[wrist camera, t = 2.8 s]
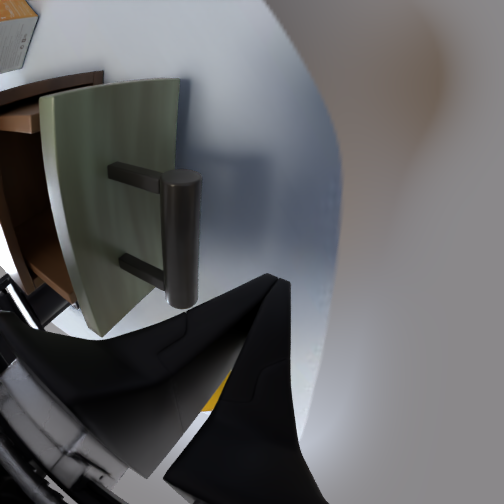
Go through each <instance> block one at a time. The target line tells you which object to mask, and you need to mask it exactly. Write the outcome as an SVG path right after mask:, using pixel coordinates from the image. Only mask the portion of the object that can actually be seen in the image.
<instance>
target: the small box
mask: <svg viewBox="0 0 504 504" xmlns="http://www.w3.org/2000/svg"><path fill="white" fill-rule="evenodd" d="M37 19H38V15H37V14H36V13H35V12H34V11H33V10H32V9H31V7H30V6H29V5H28V4H27V2H26V1H25V0H0V74H1V73H5V72H9V71H13V70H18V69H21V68H22V65H23V61H24V58H25V55H26V51H27V48H28V45H29V42H30V39H31V36H32V33H33V30H34V27H35V25H36V22H37Z"/></svg>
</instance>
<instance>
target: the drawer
mask: <svg viewBox="0 0 504 504" xmlns="http://www.w3.org/2000/svg"><path fill="white" fill-rule="evenodd" d="M179 87H180V79H179V78H152V79H140V80H130V81H121V82H113V83H106V84H100V85H94V86H88V87H82V88H77V89H72V90H67V91H63V92H58V93H54V94H50V95H45V96H41V97H38V98H34V99H31V100H27V101H24V102H20V103H17V104H14V105H11V106H8V107H5V108H2V109H0V172H1V178H2V183H3V187H4V192H5V196H6V201H7V205H8V209H9V213H10V216H11V220H12V223H13V227H14V230H15V234H16V237H17V240H18V243H19V246H20V249H21V252H22V255H23V258H24V261H25V263H26V265H27V266H28V267H29V268H30V269H31V270H32V271H33V272H34V273H35V274H37V275H38V276H39V277H40V278H41V279H42V280H43V281H44V282H46V283H47V284H48V285H49V286H50V287H51V288H52V289H54V290H55V291H56V292H57V293H58V294H60V295H61V296H62V297H63V298H64V299H66V300H67V301H68V302H69V303H71V304H74V303H75V302H76V301H77V300H78V303H79V305H80V308H81V311H82V313H83V316H84V318H85V321H86V323H87V326H88V328H90V329H91V330H92V331H94V332H95V333H96V334H98V335H99V336H100V337H103V336H104V335H105V334H107V333H108V332H109V331H110V330H111V329H112V328H113V327H114V326H115V325H116V324H117V323H118V322H119V321H120V320H121V319H122V318H123V317H124V316H125V315H126V314H127V313H128V312H129V311H131V310H132V309H133V308H134V307H135V306H136V305H137V304H138V303H139V302H140V301H141V300H142V299H143V298H144V297H145V296H147V295H148V294H149V293H150V292H151V291H152V290H153V289H154V288H155V287H157V288H159V289H161V290H163V291H165V295H166V301H167V302H168V304H169V305H170V306H172V307H174V308H177V309H187V308H190V307H192V306H193V305H194V304H195V303H196V302H197V300H198V269H199V236H200V212H201V193H202V176H201V174H200V173H198V172H196V171H193V170H188V169H175V151H176V130H177V113H178V100H179Z"/></svg>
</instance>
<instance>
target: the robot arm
mask: <svg viewBox="0 0 504 504" xmlns="http://www.w3.org/2000/svg"><path fill="white" fill-rule="evenodd" d="M6 287H8V289H9V291H10V292H11V294H12V296H13V297H14V299H15V301H16V302H17V304H18V306H19V307H20V309H21V311H22V312H23V314H24V315H25V317H26V318H27V320H28V321H29V323H30V324H31V326H32V327H30V326H29V324H28V323H27V321H26V320H25V318H24V316H23V315H22V313H21V312H20V310H19V309H18V307H17V305H16V304H15V302H14V300H13V299H12V297H11V295H10V294H9V293H7V291H6V289H5V288H6ZM70 305H71V306H73V307H74V308H75V309H76V310H78V309H79V308H80V307H79V304H78V301H76V302H75V303H74V304H71V303H69V302H68V301H67V300H66V299H64V298H63V297H62V296H61V295H60V294H58V293H57V292H56V291H55V290H54V289H52V288H51V287H50V286H49V285H48V284H47V283H46V282H45V283H43V284H42V285H41V286H40V287H38V288H37V289H36V288H35V291H33V292H32V293H31V294H29V295H27V294H26V293H25V292H24V291H23V290H22V289H21V288H20V287H19V286H18V284H17V283H16V282H15V281H14V280H13V279H12V278H11V277H10V275H9V274H8V273H7V274H6V275H4V276H3V277H2V278H0V504H68V503H66V502H65V501H64V500H63V498H64V497H63V496H62V495H61V494H60V493H58V492H57V491H55V490H53V489H51V488H50V487H49V486H48V485H49V484H50V483H49V482H48V481H47V480H45V479H44V478H45V476H46V475H48V476H49V477H50V478H51V479H52V480H53V481H54V482H55V483H56V484H57V485H58V486H59V487H60V488H61V489H62V490H63V491H64V492H65V493H66V494H68V495H69V496H70V497H71V498H72V499H73V500H74V501H75V502H77V503H78V504H128V503H127V502H125V501H124V500H123V499H121V498H120V497H118V496H117V495H115V494H114V493H113V492H111V490H112V488H113V487H114V486H115V484H116V483H117V482H118V481H119V480H120V478H121V477H122V476H123V474H124V473H125V472H126V470H127V469H128V468H130V469H132V470H134V471H135V472H136V473H138V474H139V475H141V476H143V477H144V478H146V479H147V478H148V477H149V476H150V475H151V474H152V473H153V471H154V470H155V469H156V468H157V466H158V465H159V464H160V463H161V461H162V460H163V459H164V458H165V457H166V455H167V454H168V453H169V452H170V450H171V449H172V448H173V447H174V445H175V444H176V443H177V442H178V440H179V439H180V438H181V437H182V435H183V433H185V431H186V430H187V429H188V427H189V426H190V425H191V424H192V422H193V421H194V420H195V418H196V417H197V416H198V414H199V413H200V412H201V410H202V409H203V408H204V406H205V405H206V404H207V402H208V401H209V400H210V398H211V397H212V396H213V394H214V393H215V392H216V390H217V389H218V388H219V386H220V385H221V383H222V382H223V381H224V379H225V378H226V376H227V375H228V374H229V372H230V371H231V372H230V375H229V377H228V379H227V381H226V383H225V385H224V388H223V390H222V392H221V394H220V396H219V398H218V401H217V403H216V405H215V407H214V409H213V411H212V412H211V414H210V416H209V417H208V419H207V420H206V421H205V423H204V424H203V425H202V427H201V428H200V429H199V431H198V432H197V434H196V435H195V436H194V437H193V439H192V440H191V441H190V443H189V444H188V445H187V447H186V448H185V449H184V450H183V451H182V453H181V454H180V455H179V457H178V458H177V459H176V461H175V462H174V463H173V464H172V465H171V467H170V468H169V469H168V470H167V472H166V474H165V475H164V477H163V480H164V481H165V482H166V483H168V484H169V485H170V486H171V487H172V488H173V489H174V490H175V491H176V492H177V493H178V494H180V495H181V496H182V497H183V498H184V499H185V500H187V501H188V502H189V503H190V504H329V503H328V502H327V501H326V500H325V499H324V497H323V496H322V494H321V492H320V490H319V488H318V486H317V484H316V482H315V480H314V478H313V476H312V474H311V472H310V470H309V468H308V466H307V464H306V462H305V460H304V458H303V456H302V453H301V450H300V447H299V442H298V437H297V430H296V423H295V416H294V408H293V401H292V392H291V375H290V351H291V284H290V282H289V281H287V280H284V279H281V278H279V279H278V278H277V277H276V276H274V275H271V274H268V273H266V274H264V275H262V276H260V277H257V278H255V279H253V280H251V281H249V282H247V283H245V284H243V285H241V286H239V287H237V288H235V289H232V290H230V291H228V292H226V293H224V294H222V295H220V296H218V297H215V298H213V299H211V300H209V301H207V302H205V303H203V304H201V305H198V306H196V307H194V308H192V309H190V310H188V311H186V312H183V313H181V314H179V315H176V316H174V317H172V318H169V319H167V320H165V321H162V322H160V323H157V324H154V325H151V326H148V327H145V328H142V329H139V330H136V331H133V332H130V333H127V334H123V335H120V336H117V337H114V338H110V339H105V340H87V339H82V338H76V337H71V336H65V335H61V334H55V333H51V332H47V331H45V330H44V327H45V326H46V325H48V324H49V323H50V322H51V321H52V320H53V319H54V318H56V317H57V316H58V315H59V314H60V313H61V312H63V311H64V310H65V309H66V308H67V307H68V306H70Z"/></svg>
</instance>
